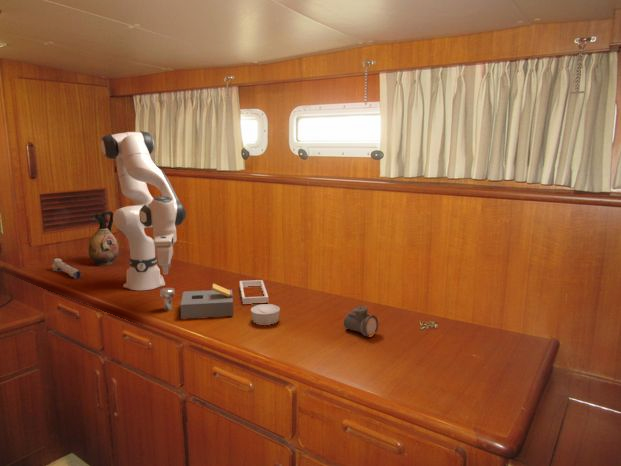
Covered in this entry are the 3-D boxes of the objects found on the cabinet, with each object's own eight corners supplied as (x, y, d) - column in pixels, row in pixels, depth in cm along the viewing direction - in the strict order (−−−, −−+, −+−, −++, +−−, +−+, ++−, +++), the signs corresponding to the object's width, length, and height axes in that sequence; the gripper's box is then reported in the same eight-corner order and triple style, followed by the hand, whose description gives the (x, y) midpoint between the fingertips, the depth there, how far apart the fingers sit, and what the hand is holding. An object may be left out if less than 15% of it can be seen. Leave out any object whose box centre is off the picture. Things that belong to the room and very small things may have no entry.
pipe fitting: (380, 333, 162) (378, 306, 160) (367, 341, 156) (364, 314, 154) (355, 327, 170) (352, 301, 168) (341, 334, 165) (338, 308, 163)
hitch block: (183, 305, 187) (183, 291, 186) (231, 302, 191) (231, 289, 190) (181, 319, 172) (180, 304, 170) (233, 316, 176) (233, 302, 175)
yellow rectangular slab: (212, 285, 183) (213, 282, 183) (231, 293, 185) (232, 290, 185) (212, 290, 177) (213, 287, 177) (231, 298, 179) (233, 295, 179)
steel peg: (161, 307, 184) (160, 287, 182) (175, 306, 185) (175, 287, 183) (160, 312, 179) (159, 292, 177) (174, 311, 180) (173, 291, 178)
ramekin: (245, 324, 168) (245, 311, 167) (259, 314, 179) (259, 302, 178) (271, 329, 164) (271, 315, 163) (284, 318, 175) (284, 306, 174)
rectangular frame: (239, 286, 213) (239, 281, 212) (262, 285, 215) (262, 280, 214) (242, 304, 189) (242, 298, 188) (268, 303, 191) (268, 297, 190)
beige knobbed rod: (72, 272, 218) (49, 256, 232) (72, 284, 219) (50, 268, 234) (82, 270, 222) (60, 255, 236) (83, 282, 224) (60, 266, 238)
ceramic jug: (100, 268, 238) (96, 213, 232) (84, 264, 246) (79, 211, 240) (128, 262, 252) (125, 210, 246) (112, 258, 260) (108, 208, 254)
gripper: (159, 233, 185) (161, 265, 188) (153, 242, 166) (155, 278, 168) (175, 232, 187) (177, 264, 189) (170, 242, 167) (172, 277, 169)
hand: (166, 271), depth 178 cm, fingers open, 8 cm apart
